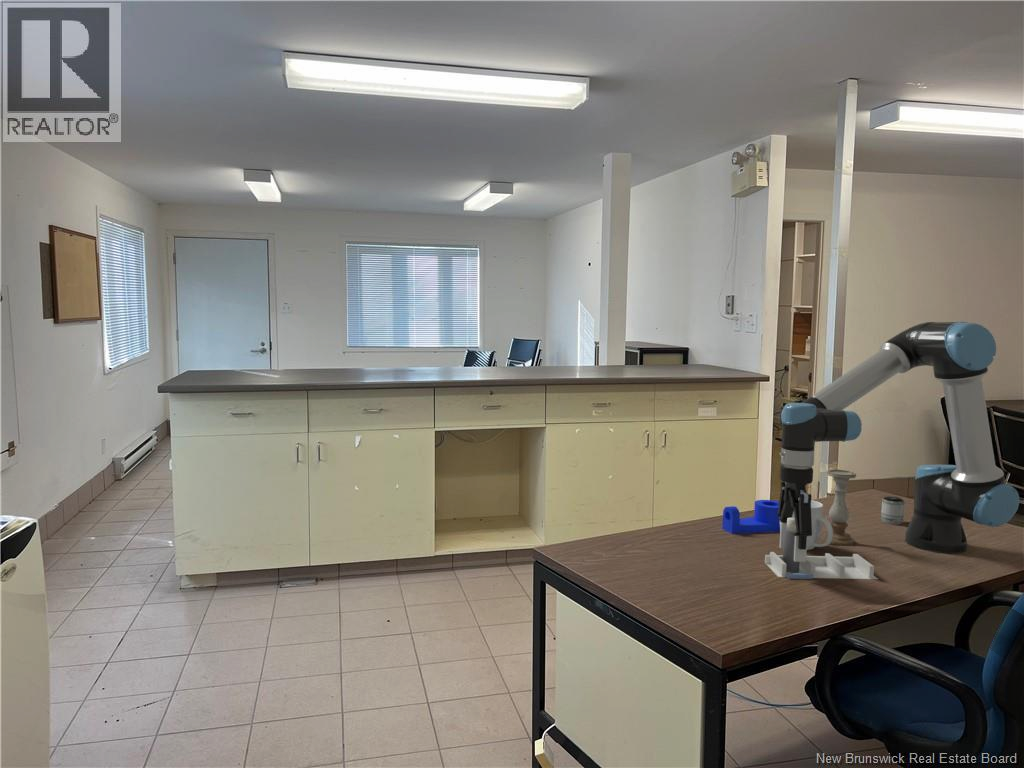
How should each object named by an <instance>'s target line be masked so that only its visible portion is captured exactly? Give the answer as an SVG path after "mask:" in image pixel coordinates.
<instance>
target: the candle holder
mask: <svg viewBox="0 0 1024 768" xmlns="http://www.w3.org/2000/svg"><path fill="white" fill-rule="evenodd" d="M826 475H827V476H829V477H832V480H833V481H834V483H835V486H834V487H833V489H832V490H833V491H834V500H833V503H832V505H831V507H830V509H829V511H828V516H829V518H830V520H831V521H829V522H830V524H831V526H832V530H833V538H832V541H831V542H830V544H829V545H834V546H840V547H849V546H853V545H855V542H856V540H855V538H853V537H852V536H851V534H849V533H848V532H846V529H847V527H849V525H848V523H847V522H848V520H849V519H850V517H851V515H850V511H849V509H848V506H847V502H846V496H847V493H848V492H849V491H848V488H847V484H848V483H849V482H850V479H855V478H857V473H856V472H854V471H850V470H845V469H829V470H827V471H826ZM827 537H828V532H827V531H825V532H824V533H823V534H821V535H820V539H821V541H822V542H823V543H825V542H826V540H827Z"/></svg>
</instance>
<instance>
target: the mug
mask: <svg viewBox="0 0 1024 768" xmlns="http://www.w3.org/2000/svg"><path fill="white" fill-rule="evenodd" d="M792 518H795V515H794V512H793V515H792ZM811 520H812V536H807V551H810V550H813V549H815V548H823V547H827V546H828V545H831V544H830V542H831V541H832V538H833V530H832V526H831V524H830V522H831V521H830V520H828V519H827V518H825V517H824V505H823V503H821V502H819V501H816V500H813V499H811ZM823 525H825V527H826V530H827V531H826V532H828V537H827V540H826V542H823V543H819V540H820V539H821V535H822V530H823V529H822V528H823ZM780 526H781V522H780ZM804 531H805V530H804Z"/></svg>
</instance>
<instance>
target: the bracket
mask: <svg viewBox="0 0 1024 768" xmlns="http://www.w3.org/2000/svg"><path fill="white" fill-rule="evenodd" d="M778 507H779V501H778V500H772V499H759V500H756V501H754V508H753V509H754V510H753V512H754V513H753V516H750V517H744V518H741V512H740V511H739V508H738V507H737V506H725V507H724V509H723V510H722V511H723V512H722V530H723V531H725V532H728V533H730V534H732V535H733V534H751V533H752V534H753V533H776V532H777V533H780V517H778V516H777V514H778Z"/></svg>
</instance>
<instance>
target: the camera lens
mask: <svg viewBox="0 0 1024 768" xmlns="http://www.w3.org/2000/svg"><path fill="white" fill-rule="evenodd" d="M881 501H882V502H881V512H880V517H881V521H882V523H884V524H888V525H894V526H895V525H896V526H898V525H899V524H900V525H902V524H903V522H904V515H905V503H906V502H905V500H904V499H902V498H901V497H897V496H886V497H885V496H884V497H883V498H882V499H881Z"/></svg>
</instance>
